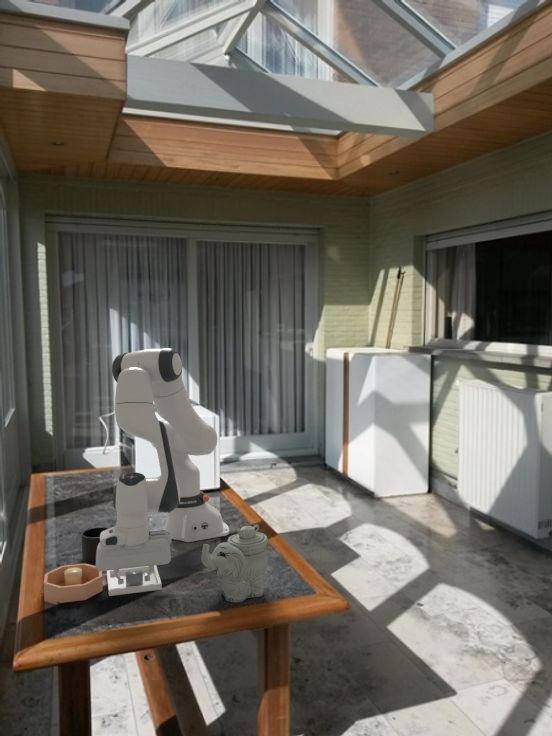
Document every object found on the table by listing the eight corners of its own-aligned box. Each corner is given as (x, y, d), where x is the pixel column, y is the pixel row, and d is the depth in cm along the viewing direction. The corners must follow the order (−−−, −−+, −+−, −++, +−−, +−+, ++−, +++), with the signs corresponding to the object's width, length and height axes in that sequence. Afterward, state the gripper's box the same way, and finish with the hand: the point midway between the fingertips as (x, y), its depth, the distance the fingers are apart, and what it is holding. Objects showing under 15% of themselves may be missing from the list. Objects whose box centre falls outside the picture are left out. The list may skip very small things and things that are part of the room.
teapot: (200, 605, 170) (199, 535, 168) (213, 581, 185) (213, 516, 183) (262, 609, 168) (262, 538, 166) (271, 584, 183) (270, 519, 181)
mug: (85, 572, 191) (84, 542, 190) (80, 557, 202) (79, 529, 201) (117, 567, 195) (116, 538, 194) (111, 553, 206) (110, 525, 205)
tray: (156, 572, 191) (156, 564, 190) (161, 592, 177) (161, 584, 177) (107, 578, 187) (106, 570, 186) (108, 599, 173) (108, 590, 173)
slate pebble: (142, 582, 182) (141, 568, 181) (143, 589, 177) (143, 575, 177) (125, 584, 180) (125, 570, 180) (126, 591, 176) (126, 577, 176)
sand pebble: (81, 580, 183) (81, 566, 183) (82, 587, 179) (81, 573, 178) (64, 582, 182) (64, 568, 181) (64, 589, 177) (64, 575, 177)
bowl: (101, 578, 187) (101, 561, 186) (103, 601, 172) (102, 582, 172) (46, 584, 182) (45, 567, 182) (43, 608, 168) (42, 590, 168)
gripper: (169, 525, 183) (170, 573, 185) (94, 533, 177) (96, 581, 179) (172, 533, 177) (173, 582, 179) (95, 541, 171) (96, 591, 173)
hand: (134, 582), depth 179 cm, fingers open, 6 cm apart
